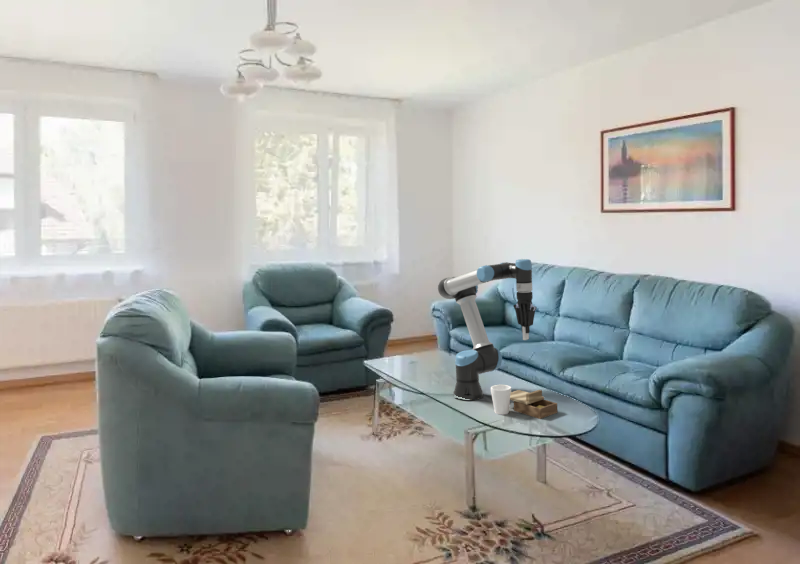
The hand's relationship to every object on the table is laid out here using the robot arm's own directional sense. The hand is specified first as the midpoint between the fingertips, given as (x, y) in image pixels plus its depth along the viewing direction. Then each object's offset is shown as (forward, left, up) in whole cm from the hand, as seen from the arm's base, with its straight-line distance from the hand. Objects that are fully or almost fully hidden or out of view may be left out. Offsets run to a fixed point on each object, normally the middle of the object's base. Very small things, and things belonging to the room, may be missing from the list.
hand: (525, 339), depth 292 cm
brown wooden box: (+12, -8, -32) cm, 35 cm away
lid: (+4, -8, -27) cm, 28 cm away
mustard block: (+16, -8, -31) cm, 36 cm away
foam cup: (+2, -20, -33) cm, 38 cm away
